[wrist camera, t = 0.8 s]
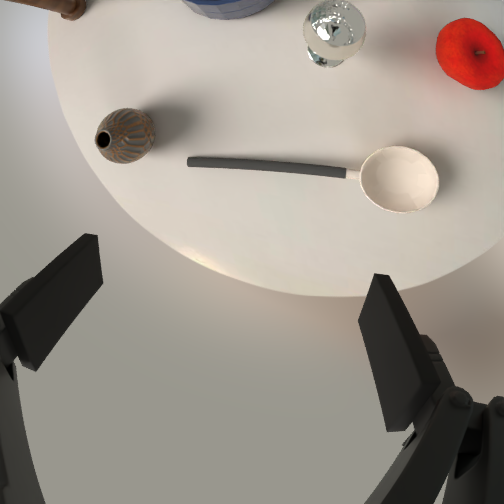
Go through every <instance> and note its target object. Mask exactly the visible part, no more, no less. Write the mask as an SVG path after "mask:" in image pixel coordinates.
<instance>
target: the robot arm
mask: <svg viewBox="0 0 504 504" xmlns="http://www.w3.org/2000/svg"><path fill="white" fill-rule="evenodd" d="M102 284H103V278H102V271H101V263H100V255H99V245H98V235H93V234H86V233H85V234H83V235H82V236H81V237H80V238H79V239H77V240H76V241H75V242H74V243H73V244H71V245H70V246H69V247H68V248H67V249H66V250H64V251H63V252H62V253H61V254H60V255H58V256H57V257H56V258H55V259H54V260H53V261H52V262H51V263H49V264H48V265H47V266H46V267H45V268H44V269H43V270H42V271H40V272H39V273H38V274H37V275H36V276H35V277H32V278H30V279H28V280H26V281H24V282H23V283H22V284H21V285H20V286H18V287H17V288H16V290H14V292H12V293H11V294H10V296H8V297H7V298H6V299H5V300H4V301H3V302H2V303H1V304H0V504H45V501H44V498H43V495H42V492H41V489H40V486H39V482H38V479H37V476H36V472H35V469H34V465H33V461H32V457H31V454H30V449H29V445H28V441H27V436H26V431H25V426H24V421H23V417H22V410H21V404H20V397H19V390H18V381H17V373H16V366H15V363H14V359H15V358H16V357H17V356H18V357H19V360H20V362H21V364H22V366H24V367H26V368H28V369H31V370H33V371H37V370H38V368H39V367H40V366H41V364H42V363H43V361H44V360H45V358H46V357H47V356H48V354H49V353H50V352H51V350H52V349H53V347H54V346H55V345H56V343H57V342H58V341H59V339H60V338H61V336H62V335H63V334H64V333H65V331H66V330H67V328H68V327H69V326H70V325H71V323H72V322H73V321H74V319H75V318H76V317H77V316H78V314H79V313H80V312H81V310H82V309H83V308H84V307H85V305H86V304H87V303H88V301H89V300H90V299H91V298H92V296H93V295H94V294H95V293H96V292H97V290H98V289H99V288H100V287H101V285H102ZM358 323H359V326H360V330H361V333H362V336H363V340H364V343H365V347H366V350H367V354H368V358H369V361H370V365H371V369H372V372H373V376H374V380H375V384H376V388H377V392H378V396H379V400H380V404H381V408H382V412H383V416H384V421H385V426H386V430H387V432H396V431H405V430H406V429H407V428H408V426H409V425H410V424H411V423H412V422H413V425H414V428H415V430H414V431H413V433H412V434H411V435H410V436H409V437H408V438H407V440H406V441H405V442H404V443H403V444H402V445H403V446H404V447H403V448H402V450H401V452H400V453H399V455H398V456H397V458H396V460H395V461H394V463H393V464H392V466H391V467H390V469H389V470H388V472H387V473H386V474H385V476H384V477H383V479H382V480H381V482H380V483H379V485H378V486H377V487H376V489H375V490H374V492H373V493H372V494H371V495H370V497H369V498H368V499H367V501H366V502H365V503H364V504H433V503H434V502H435V499H436V498H437V496H438V494H439V492H440V490H441V488H442V485H443V484H444V482H445V479H446V477H447V475H448V479H447V485H446V490H445V494H444V498H443V502H442V504H504V397H501V396H496V397H494V398H493V399H492V400H491V401H490V403H489V404H488V405H486V404H482V403H477V402H473V399H472V397H471V396H470V394H469V393H468V392H467V391H465V390H464V389H463V388H460V387H455V385H454V382H453V380H452V378H451V376H450V374H449V371H448V369H447V367H446V365H445V363H444V362H443V359H442V357H441V355H440V354H439V351H438V348H437V346H436V344H435V343H434V342H433V341H432V340H431V339H430V338H429V337H428V336H427V335H420V334H419V332H418V330H417V328H416V326H415V324H414V322H413V320H412V318H411V316H410V314H409V312H408V310H407V308H406V306H405V304H404V302H403V300H402V299H401V297H400V295H399V293H398V291H397V289H396V287H395V285H394V284H393V282H392V280H391V278H390V276H389V275H383V274H376V273H374V276H373V279H372V282H371V285H370V288H369V291H368V294H367V297H366V300H365V303H364V305H363V308H362V311H361V314H360V316H359V319H358ZM448 473H449V474H448Z"/></svg>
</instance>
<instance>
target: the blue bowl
mask: <svg viewBox="0 0 504 504" xmlns="http://www.w3.org/2000/svg"><path fill="white" fill-rule="evenodd" d="M181 1H182V2H183V3H184V4H185V5H186V6H188V7H189V8H190V9H191V10H192V11H194V12H195V13H197V14H200V15H202V16H205V17H208V18H212V19H224V20H229V19H235V18H242V17H247V16H249V15H251V14H254V13H256V12H259V11H261V10H263V9H264V8H265V7H267V6H268V5H269V4H271V3H272V2H273V1H275V0H181Z"/></svg>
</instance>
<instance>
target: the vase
mask: <svg viewBox="0 0 504 504" xmlns="http://www.w3.org/2000/svg"><path fill="white" fill-rule="evenodd" d="M154 139H155V128H154V125H153V122H152V120H151V119H150V118H149V117H148V116H147V115H146V114H145V113H144V112H142V111H140V110H137V109H132V108H124V109H119V110H116V111H114V112H112V113H110V114H109V115H108V116H106V117H105V118H104V119H103V121H102V122H101V123H100V125H99V127H98V130H97V134H96V136H95V144H96V146H97V148H98V149H99V151H100V153H101V154H102V155H103V156H104V157H105V158H106V159H108V160H109V161H112V162H115V163H120V164H126V163H131V162H134V161H137V160H138V159H140V158H142V157H143V156H144V155H146V154H147V153H148V151H149V150H150V149H151V147H152V145H153V143H154Z"/></svg>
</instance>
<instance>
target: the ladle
mask: <svg viewBox="0 0 504 504" xmlns="http://www.w3.org/2000/svg"><path fill="white" fill-rule="evenodd" d="M187 166H188V167H207V168H229V169H247V170H262V171H275V172H287V173H298V174H309V175H318V176H328V177H337V178H350V179H358V180H360V185H361V187H362V189H363V191H364V194H365V195H366V196H367V197H368V198H369V199H370V201H371V202H372V203H373V204H375V205H377V206H379V207H380V208H382V209H384V210H387V211H390V212H394V213H411V212H415V211H419V210H421V209H423V208H424V207H426V206H428V205H429V204H430V203H431V202H432V201H433V199H434V198H435V197H436V195H437V192H438V189H439V175H438V173H437V170H436V168H435V166H434V164H433V163H432V162H431V161H430V160H429V158H428V157H426V156H425V155H423V154H422V153H420V152H419V151H417V150H415V149H411V148H408V147H405V146H389V147H385V148H381V149H379V150H377V151H375V152H374V153H372V154H371V155H369V156H368V158H367V159H366V160H365V161H364V163H363V164H362V167H361V171H360V170H352V169H346V168H341V167H332V166H323V165H313V164H303V163H291V162H279V161H265V160H248V159H228V158H197V157H188V159H187Z"/></svg>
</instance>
